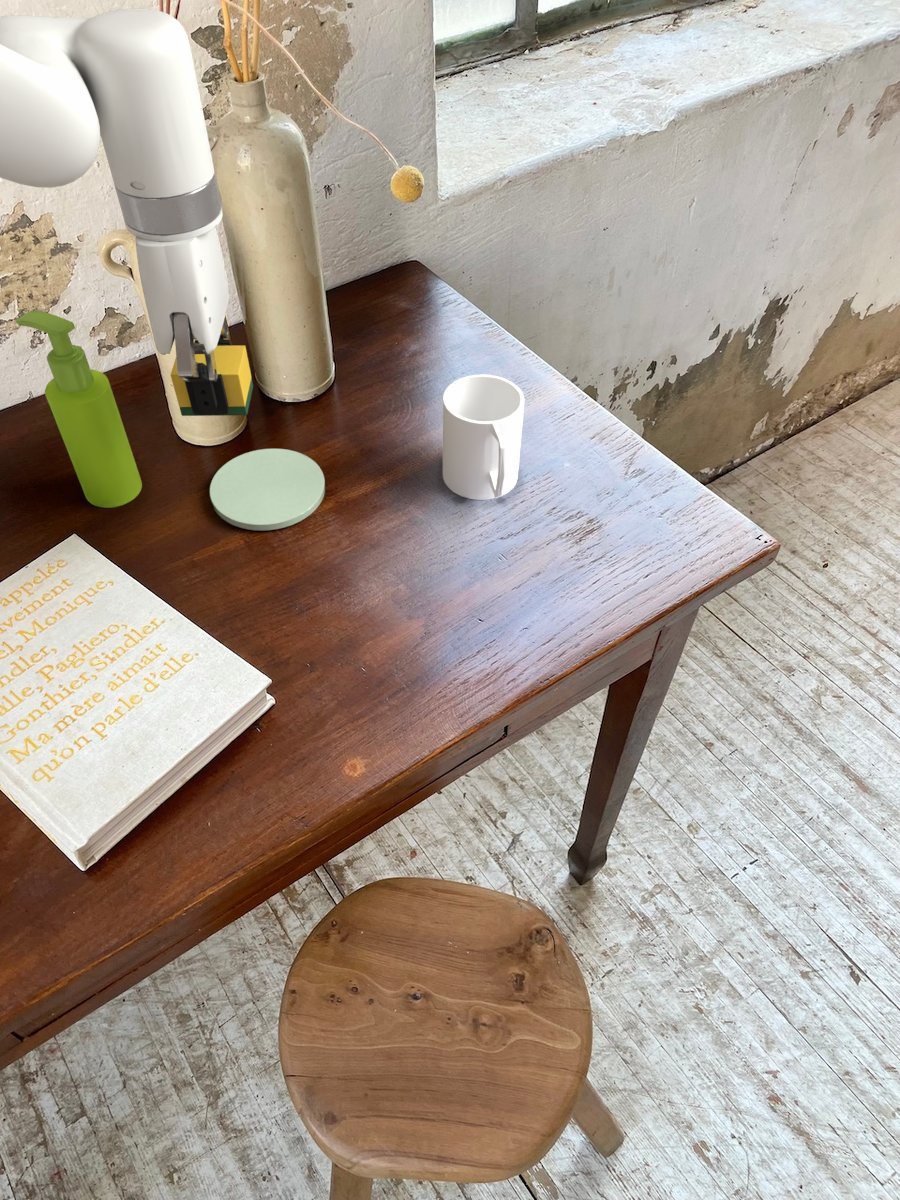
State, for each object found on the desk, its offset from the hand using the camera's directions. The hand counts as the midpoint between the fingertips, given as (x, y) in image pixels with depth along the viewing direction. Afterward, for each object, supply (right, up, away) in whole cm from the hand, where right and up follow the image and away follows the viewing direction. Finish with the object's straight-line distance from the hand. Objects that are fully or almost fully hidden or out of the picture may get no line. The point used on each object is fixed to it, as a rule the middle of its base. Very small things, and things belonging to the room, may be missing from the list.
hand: (215, 393), depth 83 cm
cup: (+25, -7, +14) cm, 30 cm away
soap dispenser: (-15, -7, +13) cm, 21 cm away
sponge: (0, -1, +1) cm, 1 cm away
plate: (+2, -8, +12) cm, 15 cm away
